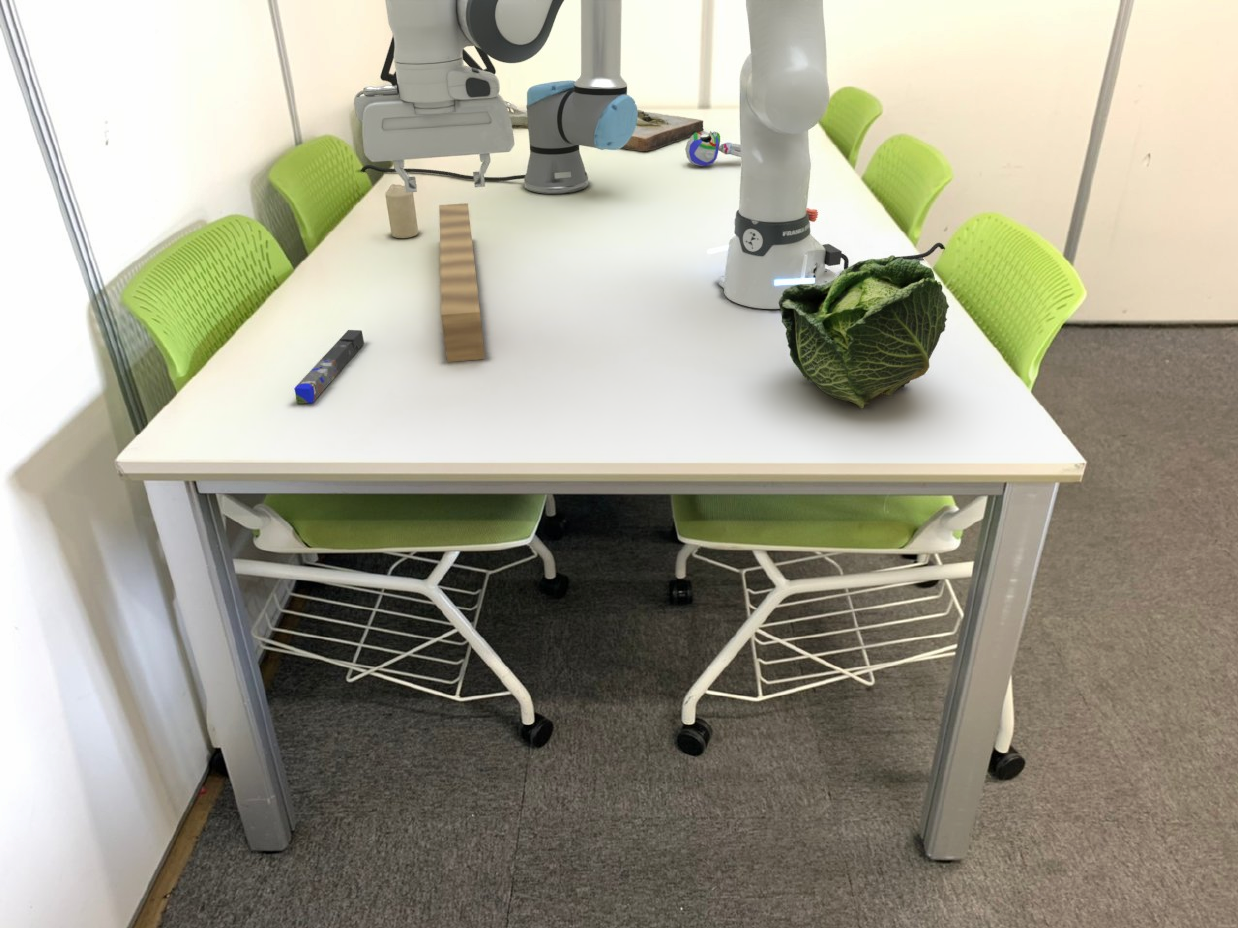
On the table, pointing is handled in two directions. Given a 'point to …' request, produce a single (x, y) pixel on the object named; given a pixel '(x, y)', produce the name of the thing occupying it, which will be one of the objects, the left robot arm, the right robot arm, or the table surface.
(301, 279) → the table surface
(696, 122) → the plaque
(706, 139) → the toy
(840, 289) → the vegetable
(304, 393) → the pillar
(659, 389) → the table surface
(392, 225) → the candle
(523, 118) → the anatomical model
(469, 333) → the beam
